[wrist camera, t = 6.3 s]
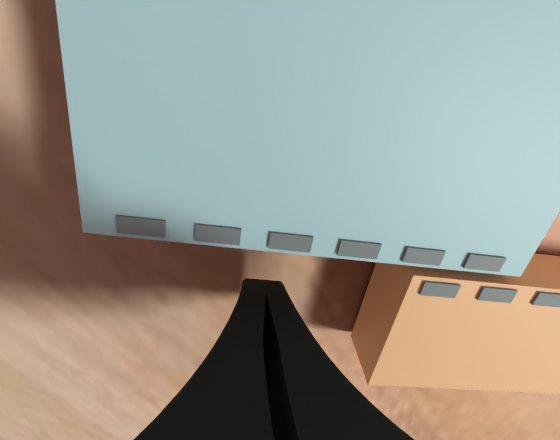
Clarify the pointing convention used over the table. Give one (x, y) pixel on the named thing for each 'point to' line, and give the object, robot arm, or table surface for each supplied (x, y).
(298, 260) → the table surface
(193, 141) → the notched pale blue slab
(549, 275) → the stub
